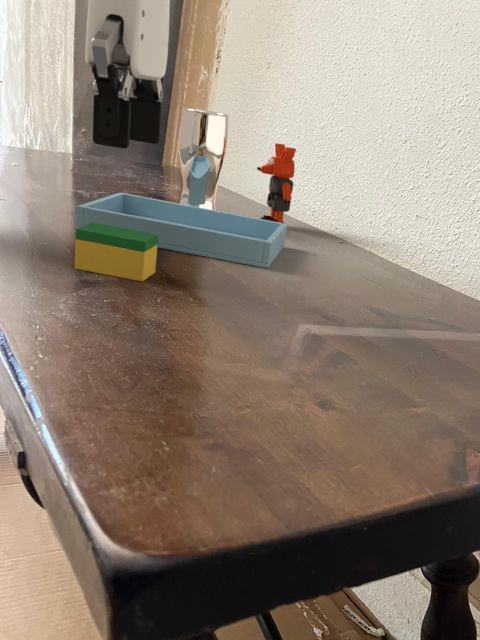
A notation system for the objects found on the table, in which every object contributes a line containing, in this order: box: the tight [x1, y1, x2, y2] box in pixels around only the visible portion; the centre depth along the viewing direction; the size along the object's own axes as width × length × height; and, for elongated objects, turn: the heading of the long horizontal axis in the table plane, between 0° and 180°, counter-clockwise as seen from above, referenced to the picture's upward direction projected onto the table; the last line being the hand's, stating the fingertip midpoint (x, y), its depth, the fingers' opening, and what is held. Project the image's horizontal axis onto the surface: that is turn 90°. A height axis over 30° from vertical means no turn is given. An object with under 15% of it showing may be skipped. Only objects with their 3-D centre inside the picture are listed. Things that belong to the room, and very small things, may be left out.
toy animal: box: [256, 142, 297, 224], centre depth 115 cm, size 8×6×12 cm
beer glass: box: [178, 107, 230, 211], centre depth 109 cm, size 7×7×15 cm
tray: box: [75, 191, 288, 269], centre depth 96 cm, size 24×16×3 cm, turn 85°
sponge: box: [74, 223, 158, 282], centre depth 76 cm, size 7×4×4 cm, turn 85°
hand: (128, 143), depth 72 cm, fingers open, 9 cm apart
